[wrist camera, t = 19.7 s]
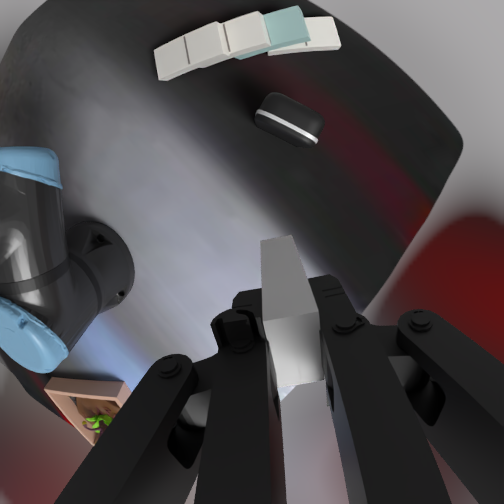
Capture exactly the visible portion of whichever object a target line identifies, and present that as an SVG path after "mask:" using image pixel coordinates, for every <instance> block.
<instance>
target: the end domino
mask: <svg viewBox="0 0 504 504" xmlns="http://www.w3.org/2000/svg"><path fill="white" fill-rule="evenodd" d="M304 20H305V23H306V26H307V29H308V32H309V35H310V39H311V41H308V42H303V43H299V44H294V45H290V46H286V47H282V48H278V49H275V50H271V51H267V53H268V56H269V55H277V54H285V53H295V52H306V51H320V50H338V49H339V48H340V47H341V43H340V40H339V36H338V33H337V30H336V27H335V23H334V20H333V17H308V18H304Z"/></svg>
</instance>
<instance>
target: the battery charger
mask: <svg viewBox="0 0 504 504" xmlns="http://www.w3.org/2000/svg"><path fill="white" fill-rule="evenodd" d="M254 120H255V123H256V127H258V128H260V129H262V130H264V131H266V132H268V133H270V134H272V135H274V136H276V137H278V138H280V139H282V140H284V141H286V142H288V143H290V144H292V145H294V146H296V147H303V148H312V147H313V146H314V145H315V144H316V143H317V141H318V137H319V135H320V134H321V132H322V130H323V128H324V125H325V121H324V118H323V117H322V116H321V115H320V114H319V113H317V112H316V111H314V110H312V109H310V108H308V107H307V106H305V105H303V104H301V103H299V102H297V101H295V100H293V99H291V98H289V97H287V96H285V95H283V94H281V93H277V92H273V93H270V94H268V95H267V96H266V97H265V99H264V100H263V102H262V104H261V106H260V108H259V110H257V112H256V114H255V118H254Z"/></svg>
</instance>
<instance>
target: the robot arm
mask: <svg viewBox="0 0 504 504" xmlns="http://www.w3.org/2000/svg"><path fill="white" fill-rule="evenodd" d="M62 189H63V186H62V184H61V181H60V171H59V160H58V157H57V155H56V154H55V152H54V151H52V150H51V149H49V148H44V147H32V146H12V147H0V347H1V348H2V349H3V350H4V351H5V352H6V353H7V354H8V355H9V356H10V357H11V358H12V359H14V360H15V361H16V362H17V363H19V364H20V365H22V366H23V367H25V368H27V369H29V370H31V371H34V372H38V373H49V372H51V371H53V370H54V369H55V368H56V367H57V366H58V365H59V364H60V362H61V361H62V360H63V359H65V358H66V357H67V356H68V354H69V352H70V351H71V350H72V348H73V347H74V345H75V344H76V343H77V341H78V340H79V339H80V337H81V336H82V335H83V333H84V332H85V330H86V329H87V328H88V326H89V325H90V324H91V323H92V321H93V320H94V318H95V317H96V316H97V315H98V314H100V313H102V312H105V311H107V310H109V309H111V308H113V307H115V306H117V305H118V304H120V303H121V302H122V301H123V300H124V299H125V297H126V296H127V295H128V293H129V292H130V290H131V288H132V286H133V283H134V276H135V271H134V264H133V260H132V257H131V254H130V252H129V250H128V248H127V246H126V244H125V243H124V241H123V240H122V239H121V238H120V237H119V235H118V234H117V233H115V232H114V231H113V230H112V229H110V228H109V227H107V226H105V225H103V224H101V223H97V222H82V223H79V224H77V225H75V226H74V227H72V228H70V229H69V230H67V231H66V232H65V225H64V216H63V204H62ZM260 244H261V277H262V288H259V289H253V290H248V291H242V292H239V293H238V294H237V295H236V297H235V298H234V299H233V303H232V309H229V310H226V311H224V312H222V313H220V314H219V315H217V316H216V317H215V318H214V319H213V320H212V322H211V324H210V325H211V328H212V331H213V334H214V337H215V339H216V342H217V345H218V348H219V349H218V353H217V354H215V355H213V356H212V357H209V358H207V359H204V360H201V361H198V362H195V363H192V361H191V359H190V358H189V357H187V356H186V355H182V354H171V355H168V356H165V357H162V358H161V359H159V360H157V361H156V362H155V363H154V364H153V365H152V366H151V367H150V368H149V370H148V371H147V373H146V374H145V375H144V377H143V378H142V379H141V381H140V382H139V384H138V385H137V386H136V388H135V389H134V390H133V392H132V393H131V395H130V396H129V397H128V399H127V400H126V402H125V403H124V404H123V406H122V407H121V408H120V410H119V411H118V413H117V414H116V415H115V417H114V418H113V420H112V421H111V422H110V424H109V425H108V427H107V428H106V429H105V431H104V432H103V434H102V435H101V437H100V438H99V439H98V441H97V442H96V444H95V445H94V447H93V448H92V449H91V451H90V452H89V454H88V455H87V457H86V458H85V459H84V461H83V462H82V464H81V465H80V467H79V468H78V469H77V471H76V472H75V474H74V475H73V476H72V478H71V479H70V481H69V482H68V484H67V485H66V487H65V488H64V489H63V491H62V492H61V494H60V495H59V497H58V498H57V500H56V501H55V503H54V504H184V503H185V501H186V499H187V497H188V495H189V493H190V490H191V488H192V486H193V484H194V482H195V480H196V477H197V475H198V479H197V486H196V494H195V500H194V504H287V501H286V485H285V468H284V453H283V437H282V422H281V409H280V399H279V395H278V390H277V385H278V388H280V387H287V386H293V385H299V384H304V383H310V382H315V381H320V380H324V376H325V379H326V390H327V391H326V392H327V406H330V409H331V414H332V419H333V423H334V428H335V432H336V437H337V442H338V447H339V452H340V457H341V461H342V467H343V471H344V477H345V482H346V488H347V492H348V499H349V504H452V503H451V501H450V498H449V495H448V492H447V489H446V486H445V484H444V481H443V479H442V476H441V473H440V470H439V468H438V465H437V463H436V460H435V458H434V455H433V453H432V450H431V448H430V446H429V443H428V441H427V439H428V440H429V442H430V443H431V444H432V445H433V446H434V448H435V449H436V450H437V452H438V453H439V454H440V455H441V457H442V458H443V459H444V460H445V461H446V463H447V464H448V465H449V466H450V468H451V469H452V470H453V471H454V473H455V474H456V475H457V476H458V478H459V479H460V480H461V482H462V483H463V484H464V485H465V486H466V488H467V489H468V490H469V492H470V493H471V494H472V495H473V497H474V498H475V499H476V500H477V502H478V503H479V504H504V364H502V363H501V362H500V361H499V360H497V359H496V358H495V357H493V356H492V355H491V354H490V353H488V352H487V351H486V350H484V349H483V348H482V347H481V346H479V345H478V344H477V343H475V342H474V341H473V340H471V339H470V338H469V337H467V336H466V335H464V334H463V333H462V332H461V331H459V330H458V329H457V328H455V327H454V326H453V325H451V324H450V323H448V322H447V321H446V320H444V319H443V318H441V317H440V316H439V315H437V314H436V313H434V312H431V311H429V310H423V309H417V310H411V311H408V312H405V313H404V314H403V315H401V316H400V318H399V320H398V323H397V325H396V326H376V325H372V324H370V323H369V321H368V320H367V319H366V318H365V317H364V316H362V315H360V314H358V313H356V311H355V309H354V308H353V306H352V304H351V302H350V300H349V298H348V296H347V295H346V294H345V291H344V289H343V288H342V285H341V284H340V282H339V280H338V279H337V278H335V277H333V276H332V275H330V274H329V275H324V276H319V277H314V278H308V279H307V276H306V273H305V270H304V267H303V265H302V262H301V259H300V256H299V254H298V251H297V248H296V245H295V243H294V240H293V237H292V235H289V236H284V237H278V238H273V239H267V240H262V241H260ZM426 438H427V439H426Z"/></svg>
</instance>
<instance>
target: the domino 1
mask: <svg viewBox="0 0 504 504" xmlns="http://www.w3.org/2000/svg"><path fill="white" fill-rule="evenodd" d="M154 55H155V61H156V67H157V73H158V78H159V80H164V81H168V80H170V79H172V78H175V77H177V76H179V75H181V74H184V73H186V72H189V71H191V70H194V69H196V68H199V67H201V66H204V65H207V64H209V63H212V62H215V61H218V60H220V59H223V58H226V57H229V56H230V54H229V50H228V46H227V41H226V37H225V33H224V28H223V25H222V24H220V23H218V22H217V21H216V22H213V23H211V24H208V25H206V26H203V27H201V28H199V29H196V30H194V31H192V32H189V33H187V34H185V35H183V36H181V37H179V38H176V39H174V40H172V41H170V42H168V43H166V44H164V45H162V46H161V47H159V48H157V49H155V50H154Z"/></svg>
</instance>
